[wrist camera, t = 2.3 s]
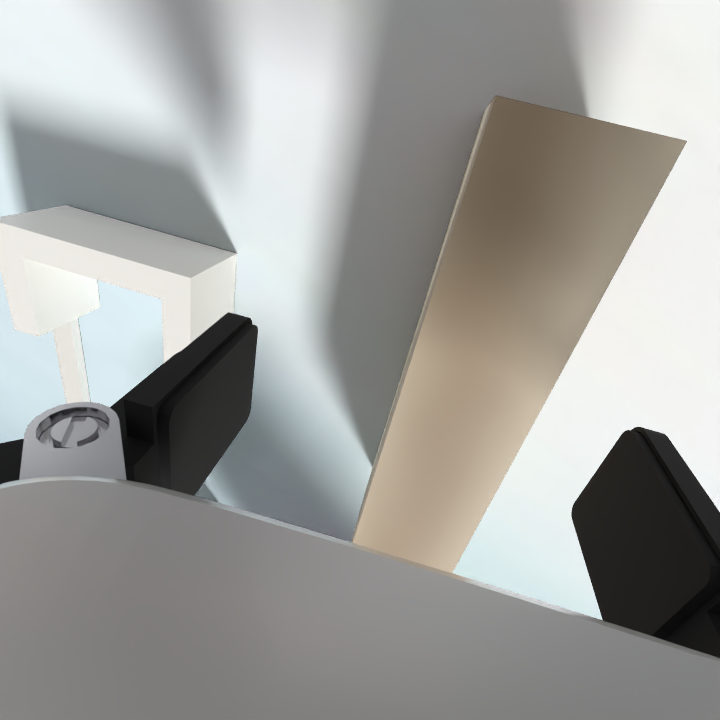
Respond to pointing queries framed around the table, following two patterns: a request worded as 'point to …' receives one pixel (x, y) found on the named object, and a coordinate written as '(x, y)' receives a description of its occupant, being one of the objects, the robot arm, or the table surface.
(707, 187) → the table surface
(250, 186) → the table surface
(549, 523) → the table surface
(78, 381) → the endcaps
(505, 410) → the slat
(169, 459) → the robot arm
